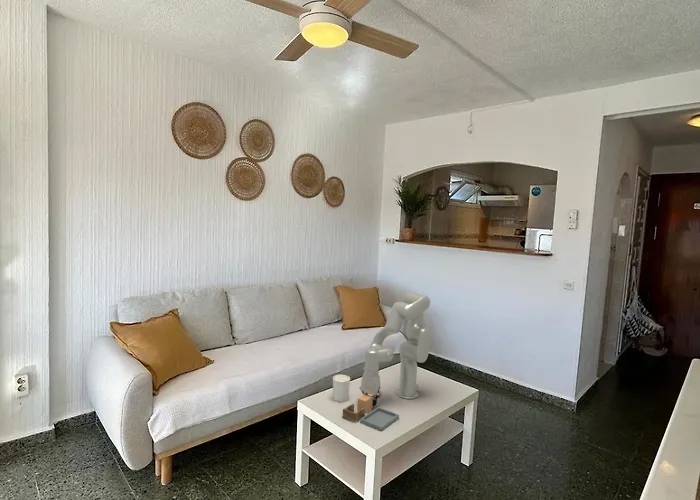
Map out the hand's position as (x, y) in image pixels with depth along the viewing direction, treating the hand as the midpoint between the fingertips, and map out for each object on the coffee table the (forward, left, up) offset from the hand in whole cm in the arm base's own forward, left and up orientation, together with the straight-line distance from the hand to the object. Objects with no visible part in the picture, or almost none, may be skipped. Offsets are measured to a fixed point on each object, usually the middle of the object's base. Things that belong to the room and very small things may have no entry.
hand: (370, 404), depth 212 cm
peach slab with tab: (+3, 0, -1) cm, 3 cm away
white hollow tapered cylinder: (+3, -18, -2) cm, 18 cm away
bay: (+15, 0, -1) cm, 15 cm away
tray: (+9, +12, -1) cm, 15 cm away
